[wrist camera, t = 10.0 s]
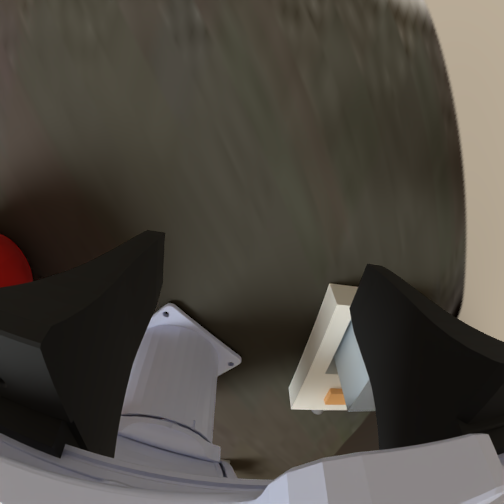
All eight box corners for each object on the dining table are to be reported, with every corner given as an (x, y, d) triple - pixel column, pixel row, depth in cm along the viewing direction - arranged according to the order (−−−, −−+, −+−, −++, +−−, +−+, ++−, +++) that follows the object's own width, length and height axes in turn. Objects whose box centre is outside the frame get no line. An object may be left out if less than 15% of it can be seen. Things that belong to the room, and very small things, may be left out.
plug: (361, 345, 26) (384, 410, 20) (329, 343, 26) (347, 411, 19) (382, 303, 24) (414, 369, 18) (348, 300, 24) (375, 369, 17)
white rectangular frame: (347, 403, 30) (353, 427, 27) (282, 402, 29) (284, 427, 27) (409, 293, 23) (424, 317, 21) (329, 283, 23) (339, 310, 20)
